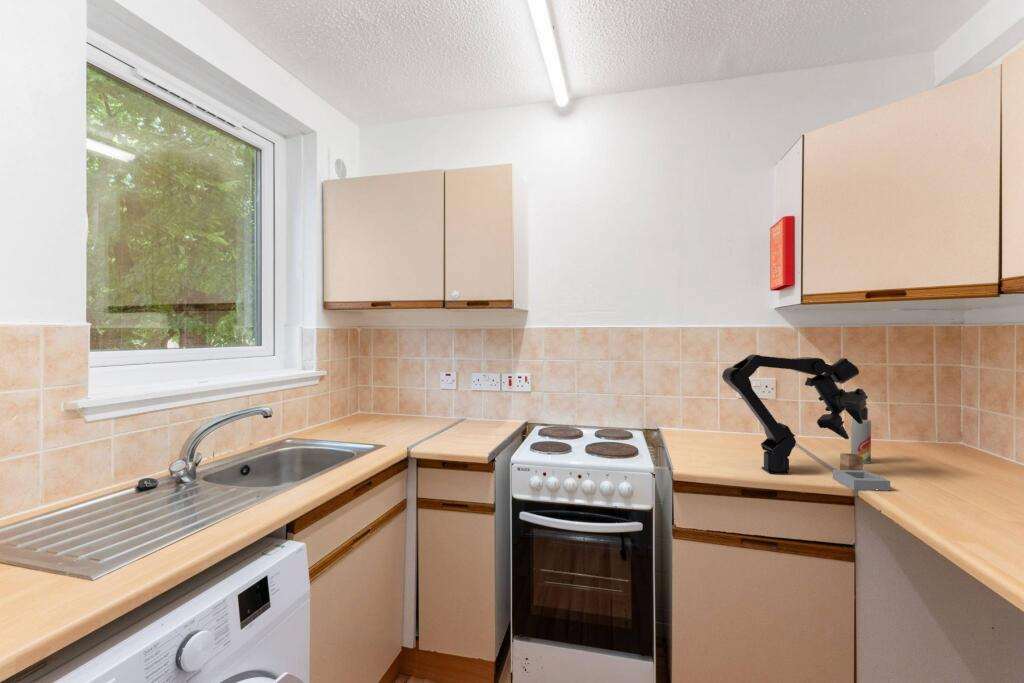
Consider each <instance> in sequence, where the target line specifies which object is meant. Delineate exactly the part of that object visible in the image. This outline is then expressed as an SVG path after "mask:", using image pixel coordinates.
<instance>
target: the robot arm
mask: <svg viewBox="0 0 1024 683" xmlns="http://www.w3.org/2000/svg"><path fill="white" fill-rule="evenodd" d="M760 367H763V368H773V369H781V370H783V369H784V370H790V371H791V370H792V371H795V372H798V373H802V374H806V375H812V376H813V377H806V381H805V382H804V385H805V386H807V387H814V388H815V390H816V392H817V393H818V395H819V397H818V398H817V399H818V400H819V401H823V403H824V404H825V405H826V407H825V408H824V410H825V411H826V412H831V413H827V414H824V413H823V414H821V416H820V417H819V418H818V419H817V421H816V424H817V425H818V427H819V428H820V429H827V430H829V431H832V432H834V433H835V434H836V435H838V436H840V437H841V438H843V439H845V440H849V439H850V436H849V435H848V432H847V430H846V429H845V428H844V426H843V425H844V423H845V421H844V420H843V418H842V416H841V414H842V413H843V412H844V411H845V412H847V414H849V415H850V416H851V417H852V419H854V420H855V421H856V422H858V423H859V424H862V423H863V422H862V417H861V412H860V411H861V410H863V408H864V407H865V406H866V407H867V399H868V398H869V396H868V395H867V393H866V392H865V391H864V390H863V389H862V388H856V389H855V390H852V391H845V389H843V388H839V387H838V385H837V384H836V383H839V384H840V385H841V384H845V383H846V382H849V381H850V380H851V379H853V378H855V377H856V376H858V375H859V374H860V371H859V368H858V367H857V366H856V365H855V364H853V363H852V362H851V361H849V360H848V359H847V358H846V357H842V358H840V359H839V360H838V361H835V362H834V363H833V364H831V365H830V364H829V363H826V361H825V360H824V359H823V358H820V357H811V356H803V357H795V358H787V357H777V356H776V357H775V356H766V355H760V354H749V355H747V357H745V358H744V359H742V360H741V361H739V362H737V363H735V364H734V365H733V366H731V367H727V368H725V369H724V370H723V372H722V379H723V381H724V383H726V384H727V385H728V386H729V387H730V388H731V389H733V390H734V391H735V392H736V393H737V394H739V396H740V397H741V398H742V400H743V402H745V403H746V405H747V407H748V408H749V410H750V411H751V412H752V413H753V414H754V416H755V417H756V418H757V420H758V422H760V424H761V425H762V426H763V429H764V433H765V436H766V439H765V440H763V441H762V442H761V443H760V446H761V449H762V451H763V466H761V469H762V470H764V471H765V472H767V473H769V474H770V475H771V474H772V475H791V472H790V459H789V457H790V456H791V453H792V450H793V449H794V448H795V446H796V443H797V440H796V438H795V437H796V434H794V433H793V432H792V431H791V429H790V427H789V426H788V425H786V424H785V423H784V424H783V423H781V422H778V421H776V420H777V419H776V418H774V416H773V415H772V413H771V412H770V411H769V409H768V408H767V407H766V405H765V404H764V402H763V401H762V400H761V399H760V397H759V396H758V394H757V393H756V391H755V390H754V389H753V386H752V382H751V379H750V377H751V376H753V374H754V373H755V372H756V371H757V370H758V369H759V368H760Z"/></svg>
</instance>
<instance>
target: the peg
mask: <svg viewBox="0 0 1024 683" xmlns="http://www.w3.org/2000/svg"><path fill="white" fill-rule="evenodd" d="M839 458H840V459H839V470H864V464H863V457H861V456H859V455H856V454H851V453H843V452H842V453H839Z"/></svg>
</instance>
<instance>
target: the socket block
mask: <svg viewBox="0 0 1024 683" xmlns="http://www.w3.org/2000/svg"><path fill="white" fill-rule="evenodd" d="M833 479H834V480H833ZM832 480H833V481H835V480H836V482H837V481H838V482H837V483H839V484H841V485H843V486H845V487H847V488H849V489H851V490H852V491H863V492H864V491H866V492H867V490H876V489H878V490H890V491H891V480H889V479H886V478H884V477H881V476H880V475H877V474H875V473H873V472H870V471H869V470H865V469H863V470H840V469H832Z"/></svg>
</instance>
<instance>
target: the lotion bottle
mask: <svg viewBox="0 0 1024 683" xmlns="http://www.w3.org/2000/svg"><path fill="white" fill-rule="evenodd" d="M860 412H861V417H862V422H863V423H862V424H859V423H858V422H856V421H855V420H854V419H853V418H851V419H850V420H851V421H850V454H856V455H859V456H861V457H863V465H864V464H866V465H867V464H871V462H872V421H871V420H870V419H869V408H868V407H867V405H866V406H865V407H864V408H863V410H861V411H860Z"/></svg>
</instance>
